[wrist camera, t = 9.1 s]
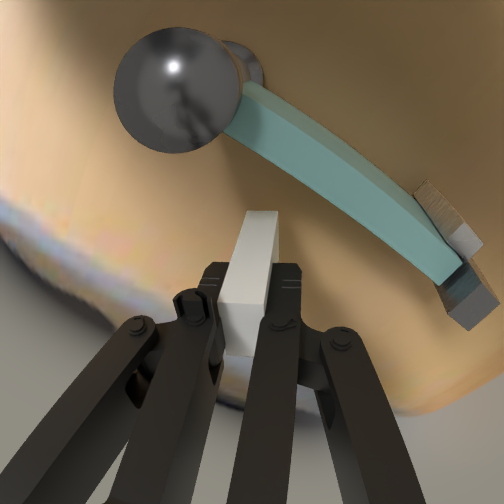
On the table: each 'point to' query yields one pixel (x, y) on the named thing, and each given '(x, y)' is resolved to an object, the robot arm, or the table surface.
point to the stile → (465, 245)
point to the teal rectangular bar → (340, 176)
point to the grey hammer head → (181, 88)
